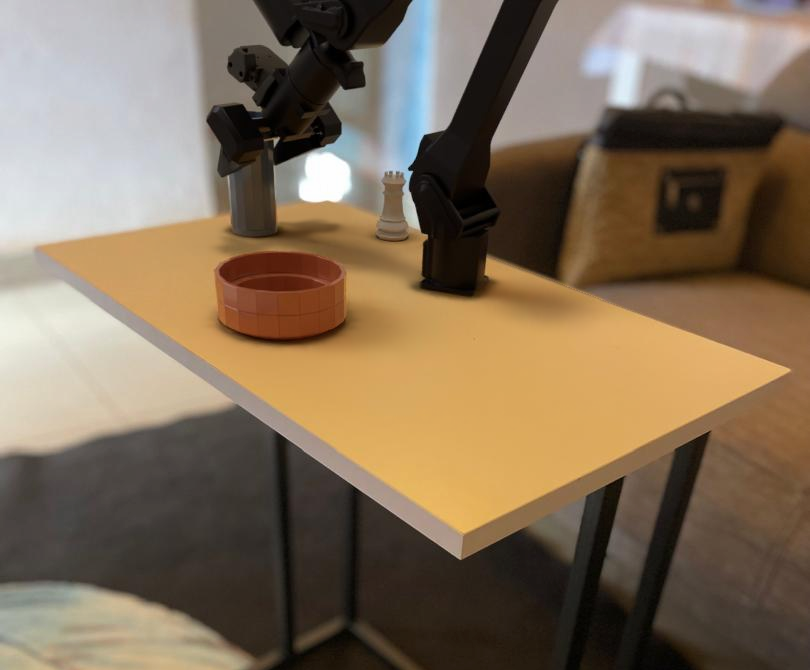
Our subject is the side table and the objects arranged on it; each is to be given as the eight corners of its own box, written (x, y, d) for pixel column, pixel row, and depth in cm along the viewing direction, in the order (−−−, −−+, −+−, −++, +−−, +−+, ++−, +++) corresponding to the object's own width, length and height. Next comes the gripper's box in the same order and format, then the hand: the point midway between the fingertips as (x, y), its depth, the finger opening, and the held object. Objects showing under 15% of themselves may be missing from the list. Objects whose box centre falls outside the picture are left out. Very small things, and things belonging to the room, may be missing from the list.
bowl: (366, 310, 90) (367, 263, 87) (308, 353, 80) (307, 301, 77) (260, 289, 93) (258, 243, 90) (193, 328, 83) (187, 278, 81)
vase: (285, 228, 113) (281, 113, 105) (262, 239, 109) (256, 120, 100) (247, 221, 115) (239, 108, 107) (223, 232, 110) (213, 115, 102)
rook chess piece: (368, 236, 112) (369, 172, 107) (388, 229, 115) (390, 167, 110) (396, 243, 110) (398, 178, 105) (415, 236, 113) (418, 173, 108)
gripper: (323, 17, 102) (262, 105, 113) (210, 23, 89) (153, 121, 101) (373, 98, 103) (307, 178, 114) (268, 115, 90) (205, 202, 102)
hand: (246, 168), depth 108 cm, fingers open, 9 cm apart
